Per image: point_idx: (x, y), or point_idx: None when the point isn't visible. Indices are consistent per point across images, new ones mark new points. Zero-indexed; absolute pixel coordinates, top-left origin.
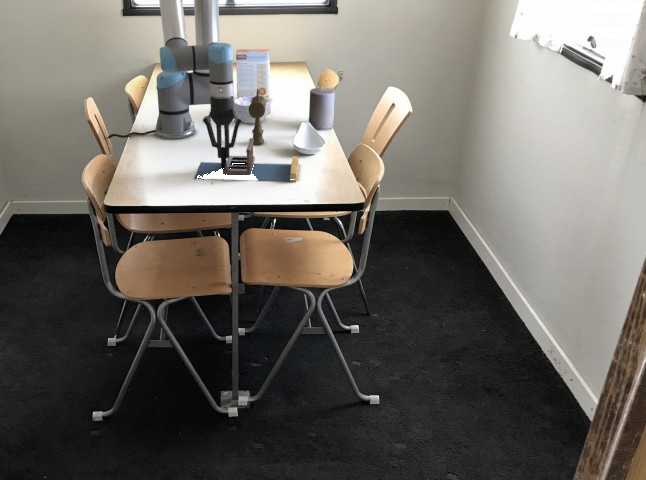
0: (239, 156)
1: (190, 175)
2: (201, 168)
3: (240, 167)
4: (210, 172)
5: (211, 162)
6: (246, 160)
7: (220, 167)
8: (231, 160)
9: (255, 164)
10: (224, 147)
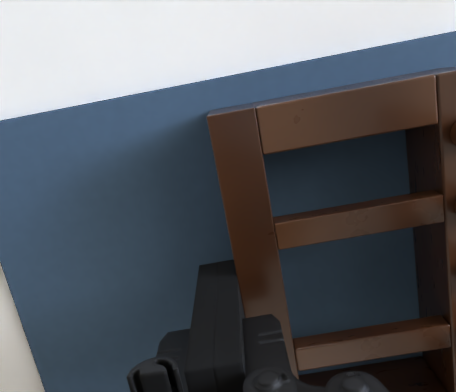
0: (326, 111)
1: (9, 383)
2: (28, 264)
3: (392, 350)
4: (130, 321)
5: (46, 114)
6: (422, 204)
7: (167, 206)
8: (275, 237)
9: (448, 58)
10: (226, 380)
